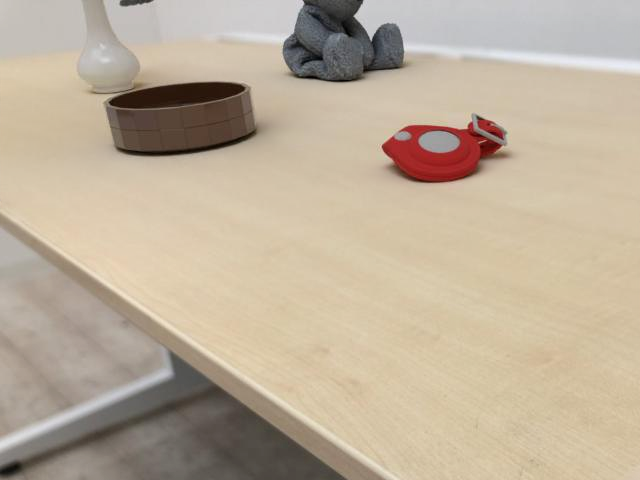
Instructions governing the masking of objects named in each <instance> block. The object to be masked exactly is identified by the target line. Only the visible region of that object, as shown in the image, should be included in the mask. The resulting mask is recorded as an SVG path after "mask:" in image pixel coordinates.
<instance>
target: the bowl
mask: <svg viewBox="0 0 640 480" xmlns="http://www.w3.org/2000/svg"><path fill="white" fill-rule="evenodd" d="M102 105H103V109H104V112H105V117H106V121H107V125H108V129H109V134H110V138H111V141H112V143H113V144H114V146H115V147H117V148H119V149H123V150H127V151H137V152H142V153H150V152H168V153H178V152H177V151H182V152H187V151H186V150H191V151H196V150H195V149H198V150H202V148H203V149H208V147H209V148H213V147H217V146H221V145H224V143H225V144H227V142H228V143H230V142H229V141H231V142H233V141H235V140H238V139H239V138H242V137H244V136H247V135H249V134H250V133H252V132H254V131H255V130H256V129H257V125H258V122H257V117H256V110H255V105H254V98H253V91H252V86H250V85H248V84H247V83H242V82H237V81H222V80H213V81H212V80H208V81H206V80H205V81H191V82H179V83H169V84H163V85H162V84H161V85H155V86H150V87H143V88H138V89H135V90H130V91H129V90H128V91H126V92H125V91H124V92H121V93H119V94H115V95H113V96H111V97H108V98H107V99H105V100H104V101H103V102H102ZM234 139H235V140H234ZM232 140H233V141H232ZM220 144H221V145H220ZM175 151H176V152H175Z"/></svg>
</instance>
